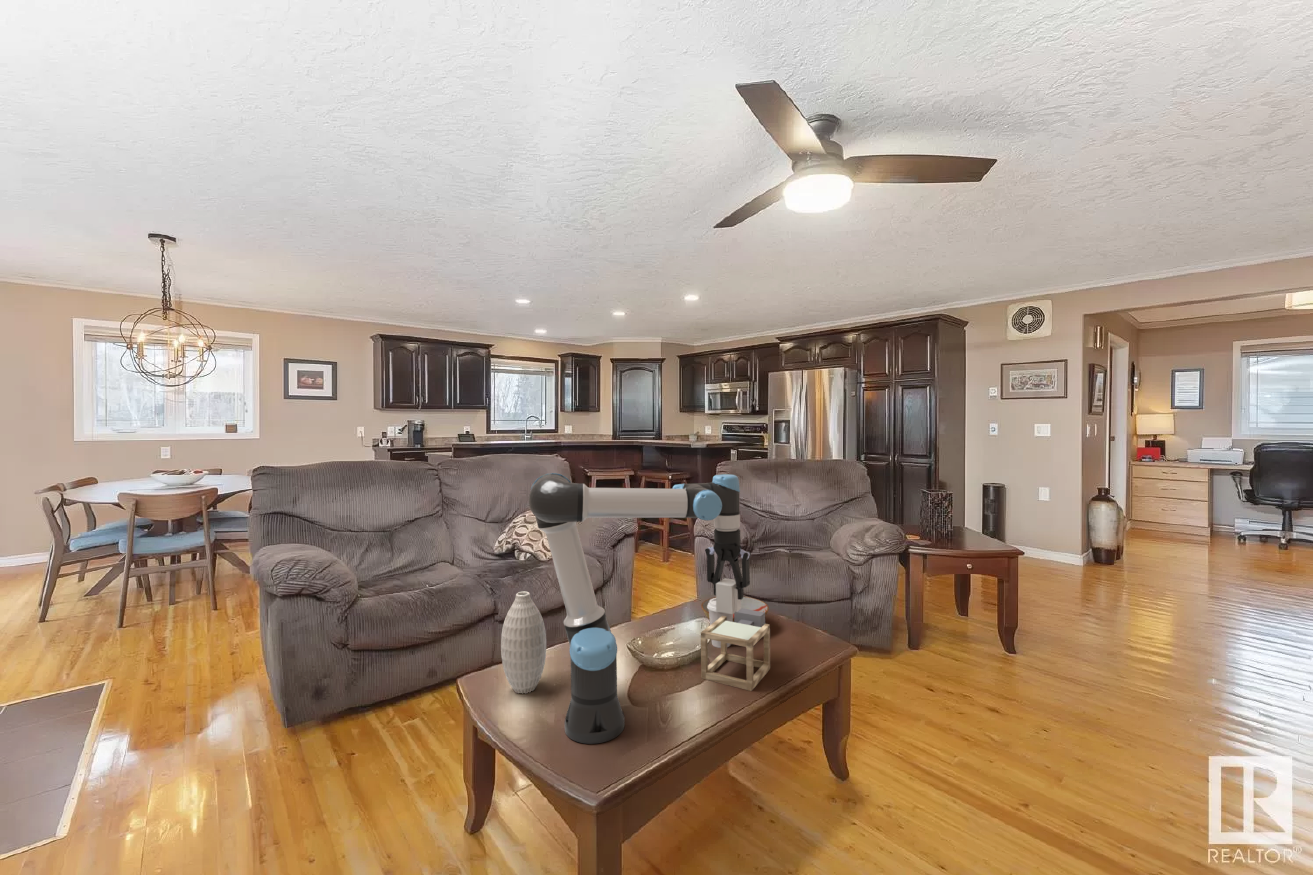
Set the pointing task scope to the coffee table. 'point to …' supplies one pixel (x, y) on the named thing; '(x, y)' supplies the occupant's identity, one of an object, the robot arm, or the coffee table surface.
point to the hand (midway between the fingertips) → (728, 608)
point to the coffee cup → (715, 616)
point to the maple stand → (735, 656)
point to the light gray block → (725, 596)
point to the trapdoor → (742, 624)
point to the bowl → (742, 605)
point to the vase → (523, 644)
